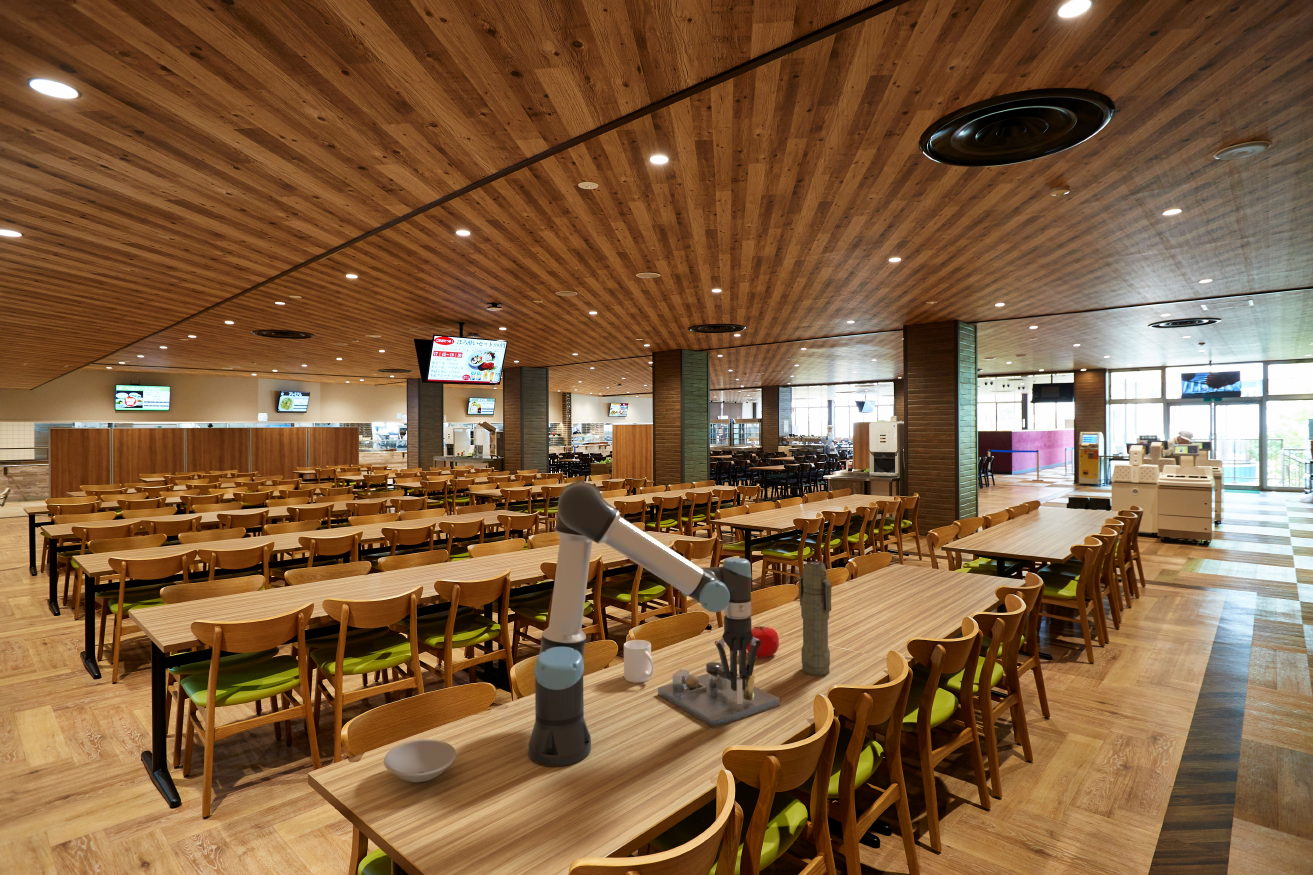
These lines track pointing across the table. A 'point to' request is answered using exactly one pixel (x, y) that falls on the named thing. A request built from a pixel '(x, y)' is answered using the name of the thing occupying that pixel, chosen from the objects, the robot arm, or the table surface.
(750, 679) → the lever
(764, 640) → the tomato
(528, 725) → the table surface
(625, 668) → the mug
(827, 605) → the thermos
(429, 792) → the table surface
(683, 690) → the bench plate
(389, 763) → the dish
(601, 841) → the table surface
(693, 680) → the tan wooden ball
